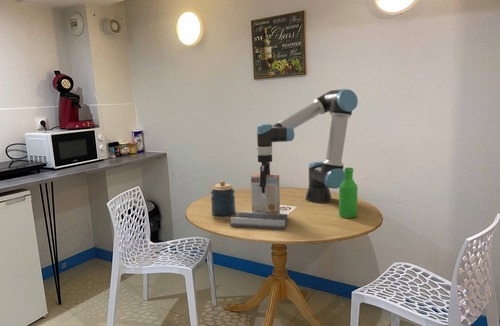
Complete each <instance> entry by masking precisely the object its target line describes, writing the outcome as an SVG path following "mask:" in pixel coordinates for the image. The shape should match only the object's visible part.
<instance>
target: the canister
mask: <svg viewBox="0 0 500 326" xmlns="http://www.w3.org/2000/svg"><path fill="white" fill-rule="evenodd" d="M211 189H212V190H211V191H210V194H211V197H210V199H211V201H210V202H211V214H212V215H213V216H217V217H227V216H231V215H234V214H236V196H235V192H236V190H235V189H234V186H233V185H232V184H231V183H225V181H224V180H221V181H220V182H219V183H217V184H215V185H214V186H212V187H211Z"/></svg>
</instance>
